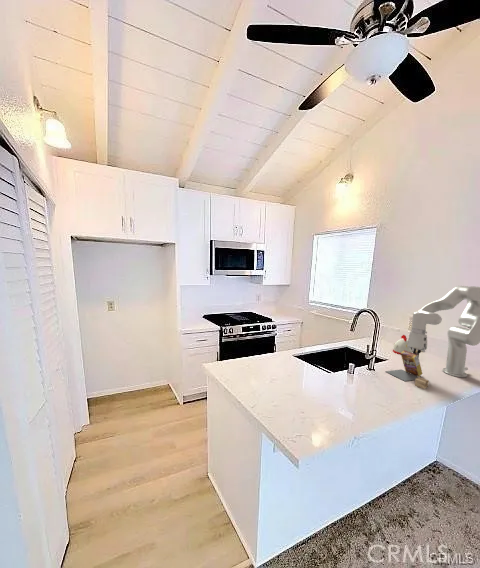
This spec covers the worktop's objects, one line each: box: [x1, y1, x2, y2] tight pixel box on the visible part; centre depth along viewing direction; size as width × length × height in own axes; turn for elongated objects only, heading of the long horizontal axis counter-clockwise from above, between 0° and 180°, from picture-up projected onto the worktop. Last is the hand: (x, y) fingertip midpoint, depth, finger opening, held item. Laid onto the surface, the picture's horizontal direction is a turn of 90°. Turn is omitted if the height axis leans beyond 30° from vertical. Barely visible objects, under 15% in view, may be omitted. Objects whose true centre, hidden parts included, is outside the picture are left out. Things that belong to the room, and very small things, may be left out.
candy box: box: [400, 350, 423, 377], centre depth 166 cm, size 9×4×15 cm, turn 23°
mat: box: [385, 368, 418, 382], centre depth 165 cm, size 14×14×1 cm
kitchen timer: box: [392, 334, 413, 356], centre depth 209 cm, size 14×14×15 cm
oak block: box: [414, 376, 430, 390], centre depth 150 cm, size 5×5×4 cm
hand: (415, 358), depth 167 cm, fingers closed
